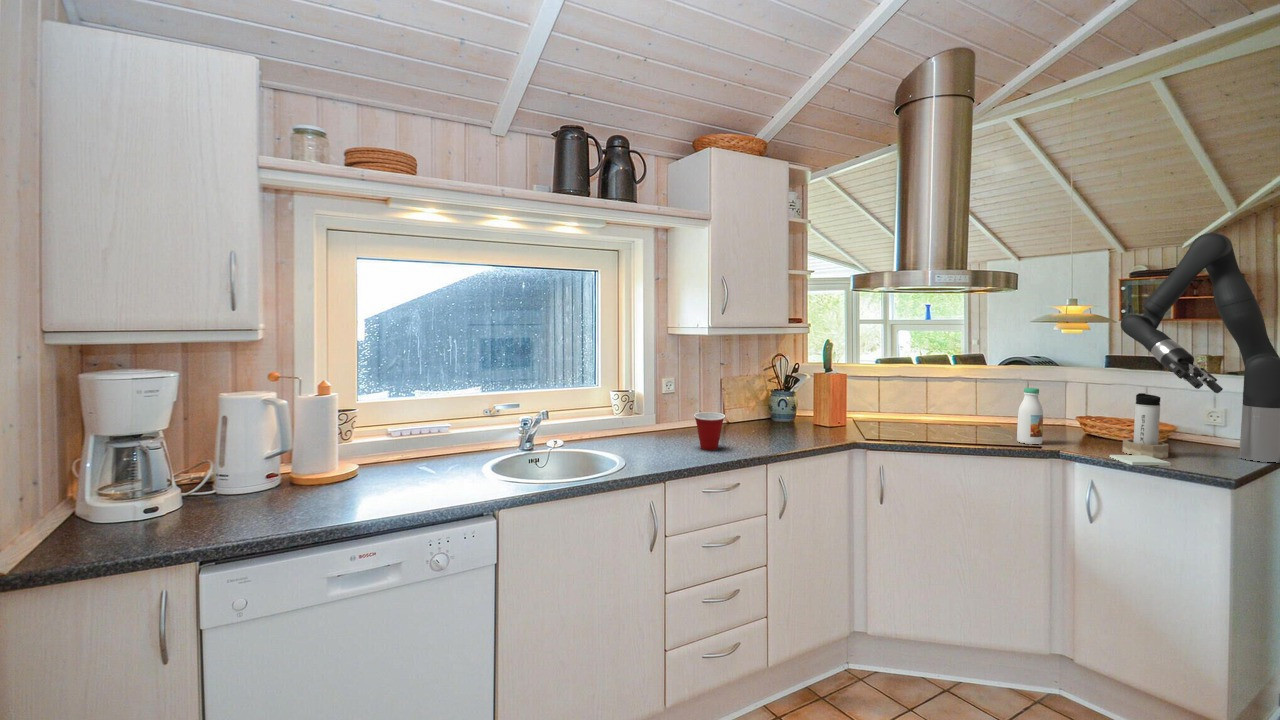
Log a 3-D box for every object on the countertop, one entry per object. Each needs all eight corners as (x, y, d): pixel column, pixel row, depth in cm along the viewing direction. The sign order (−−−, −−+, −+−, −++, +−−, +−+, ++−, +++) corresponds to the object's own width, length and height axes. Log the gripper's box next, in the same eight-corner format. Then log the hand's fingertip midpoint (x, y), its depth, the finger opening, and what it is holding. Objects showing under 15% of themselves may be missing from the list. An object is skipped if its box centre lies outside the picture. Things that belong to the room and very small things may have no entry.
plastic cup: (694, 452, 202) (694, 416, 202) (692, 445, 213) (692, 411, 213) (726, 452, 202) (727, 416, 201) (723, 445, 213) (723, 412, 212)
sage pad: (1146, 458, 193) (1146, 455, 193) (1170, 465, 184) (1170, 462, 183) (1109, 457, 194) (1109, 454, 194) (1132, 465, 184) (1132, 461, 184)
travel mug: (1147, 452, 203) (1150, 393, 202) (1162, 456, 196) (1165, 395, 195) (1127, 451, 204) (1130, 393, 202) (1141, 456, 197) (1145, 395, 196)
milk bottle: (1020, 444, 216) (1022, 389, 215) (1014, 440, 223) (1016, 386, 222) (1045, 445, 214) (1047, 389, 212) (1037, 441, 221) (1040, 387, 220)
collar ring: (1150, 450, 205) (1150, 439, 205) (1176, 458, 194) (1177, 446, 194) (1114, 450, 206) (1115, 438, 206) (1139, 457, 195) (1139, 445, 195)
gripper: (1165, 343, 198) (1204, 376, 185) (1196, 351, 201) (1236, 384, 189) (1147, 360, 202) (1183, 393, 190) (1178, 367, 206) (1215, 400, 193)
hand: (1210, 389), depth 189 cm, fingers open, 8 cm apart
